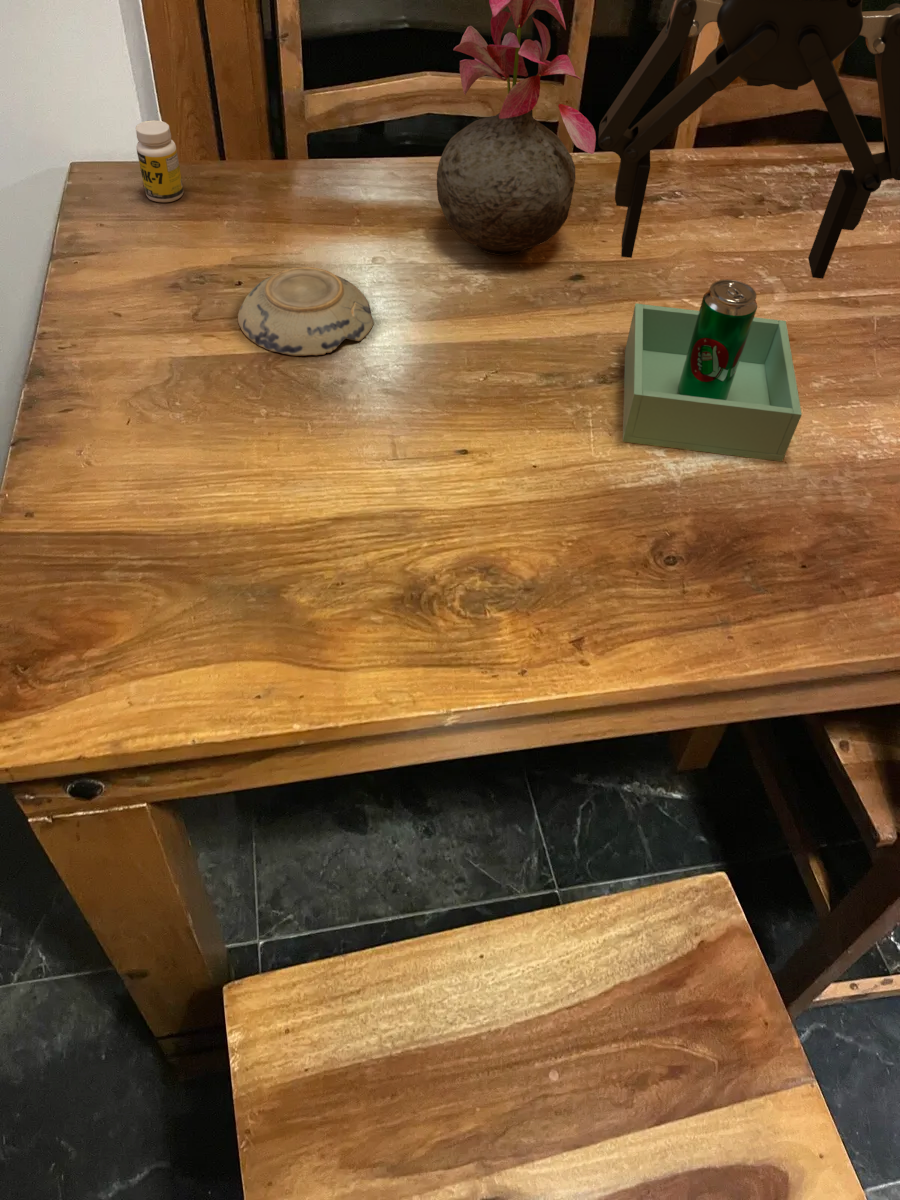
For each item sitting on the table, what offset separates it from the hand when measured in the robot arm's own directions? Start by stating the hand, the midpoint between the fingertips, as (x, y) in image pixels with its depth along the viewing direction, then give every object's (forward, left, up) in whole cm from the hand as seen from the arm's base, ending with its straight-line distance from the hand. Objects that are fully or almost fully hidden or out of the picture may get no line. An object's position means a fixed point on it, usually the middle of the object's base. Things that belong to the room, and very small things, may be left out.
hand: (720, 258), depth 68 cm
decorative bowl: (+38, -23, -25) cm, 51 cm away
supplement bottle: (+62, -46, -25) cm, 81 cm away
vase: (+18, -44, -25) cm, 54 cm away
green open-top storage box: (-5, -16, -25) cm, 30 cm away
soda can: (-5, -16, -24) cm, 29 cm away
